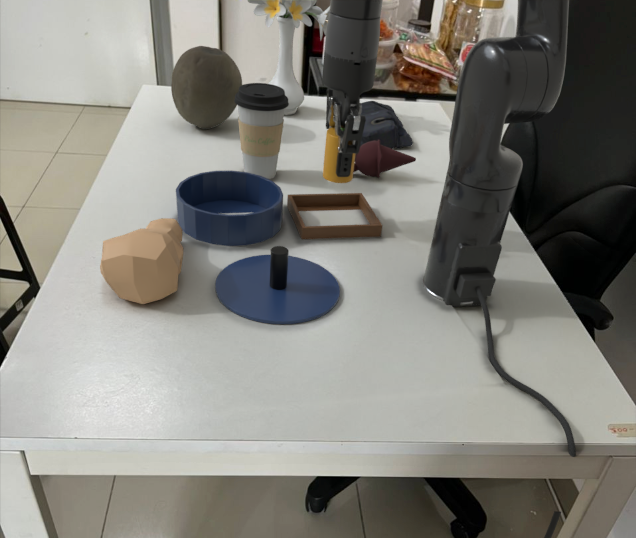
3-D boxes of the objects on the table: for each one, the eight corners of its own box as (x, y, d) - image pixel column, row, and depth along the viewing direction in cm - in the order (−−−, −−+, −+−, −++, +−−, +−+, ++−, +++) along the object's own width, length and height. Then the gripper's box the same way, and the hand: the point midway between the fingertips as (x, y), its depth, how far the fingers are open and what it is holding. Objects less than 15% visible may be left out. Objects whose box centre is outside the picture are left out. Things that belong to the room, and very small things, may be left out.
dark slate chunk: (398, 116, 152) (402, 95, 149) (414, 151, 135) (418, 128, 132) (334, 112, 150) (336, 90, 147) (342, 147, 134) (344, 123, 131)
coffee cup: (244, 188, 115) (244, 100, 105) (227, 167, 121) (226, 82, 112) (292, 183, 119) (297, 97, 109) (274, 163, 125) (277, 80, 115)
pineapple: (355, 183, 101) (363, 123, 95) (326, 183, 100) (332, 122, 94) (348, 170, 105) (355, 111, 99) (319, 170, 104) (324, 111, 98)
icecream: (415, 137, 123) (337, 137, 124) (419, 141, 117) (337, 141, 117) (412, 175, 127) (336, 175, 127) (416, 181, 120) (336, 180, 120)
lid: (353, 323, 86) (359, 281, 82) (223, 332, 82) (222, 288, 78) (323, 258, 99) (327, 218, 94) (209, 263, 95) (207, 222, 90)
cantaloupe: (222, 142, 130) (220, 62, 121) (161, 128, 134) (154, 49, 124) (252, 122, 141) (253, 46, 131) (194, 110, 144) (191, 35, 134)
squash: (97, 316, 83) (76, 250, 78) (135, 258, 100) (119, 200, 95) (179, 309, 83) (163, 242, 77) (203, 252, 99) (191, 193, 94)
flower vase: (323, 124, 143) (334, -6, 127) (241, 115, 144) (242, -16, 127) (327, 106, 153) (338, -17, 137) (251, 97, 153) (252, -27, 137)
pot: (290, 246, 101) (291, 214, 97) (182, 251, 97) (180, 217, 93) (271, 200, 112) (272, 169, 109) (174, 202, 109) (172, 171, 105)
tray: (380, 239, 105) (382, 225, 103) (301, 242, 102) (302, 228, 100) (360, 206, 114) (361, 192, 112) (286, 208, 111) (287, 194, 109)
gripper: (314, 36, 95) (306, 151, 106) (337, 64, 84) (325, 188, 96) (362, 37, 96) (349, 151, 108) (391, 66, 86) (373, 188, 97)
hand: (338, 168), depth 102 cm, fingers closed on pineapple, 4 cm apart
